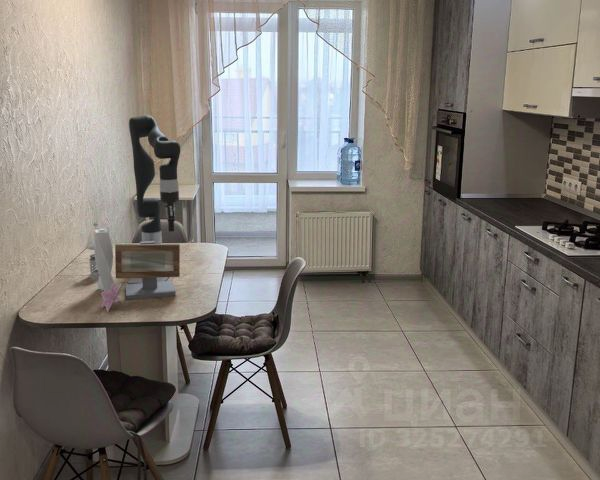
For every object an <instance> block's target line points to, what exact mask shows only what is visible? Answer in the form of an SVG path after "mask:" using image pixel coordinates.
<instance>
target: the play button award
mask: <svg viewBox="0 0 600 480" xmlns="http://www.w3.org/2000/svg"><path fill="white" fill-rule="evenodd" d="M169 279H170V277H157V282H164V281H169ZM139 283H142V278H129V280H128V281H127V283H126V284H139Z"/></svg>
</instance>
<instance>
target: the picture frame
mask: <svg viewBox="0 0 600 480" xmlns="http://www.w3.org/2000/svg"><path fill="white" fill-rule="evenodd" d="M180 247H181V245H180V243H162V244H140V243H132V244H130V243H129V244H127V243H126V244H125V243H124V244H115V245H114V255H115V256H114V258H115V259H114V260H115V261H114V262H115V267H114V268H115V279H116V280H117V279H131V278H157V277H169V278H180V273H181V272H180V266H181V265H180V263H181V261H180V252H181V251H180V249H181V248H180Z"/></svg>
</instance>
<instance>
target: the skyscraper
mask: <svg viewBox="0 0 600 480" xmlns="http://www.w3.org/2000/svg"><path fill="white" fill-rule="evenodd" d="M93 244H94V250H93V251H94V254H95V261H96V266H97V268H96V269H98V272H99V279H98V282H97V290H99V289H101V290H100V291H103V290H104V291H105V290H110V288H111V286H112V284H113V283H114V286H116V284H115V282H114V279H113V278H114V277H113V276H112V270H113V263H114V250H113V243H112V239H111V236H110V226H109V225H107V226H106V228H99V229H97V228H95V230H94V243H93Z"/></svg>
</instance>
